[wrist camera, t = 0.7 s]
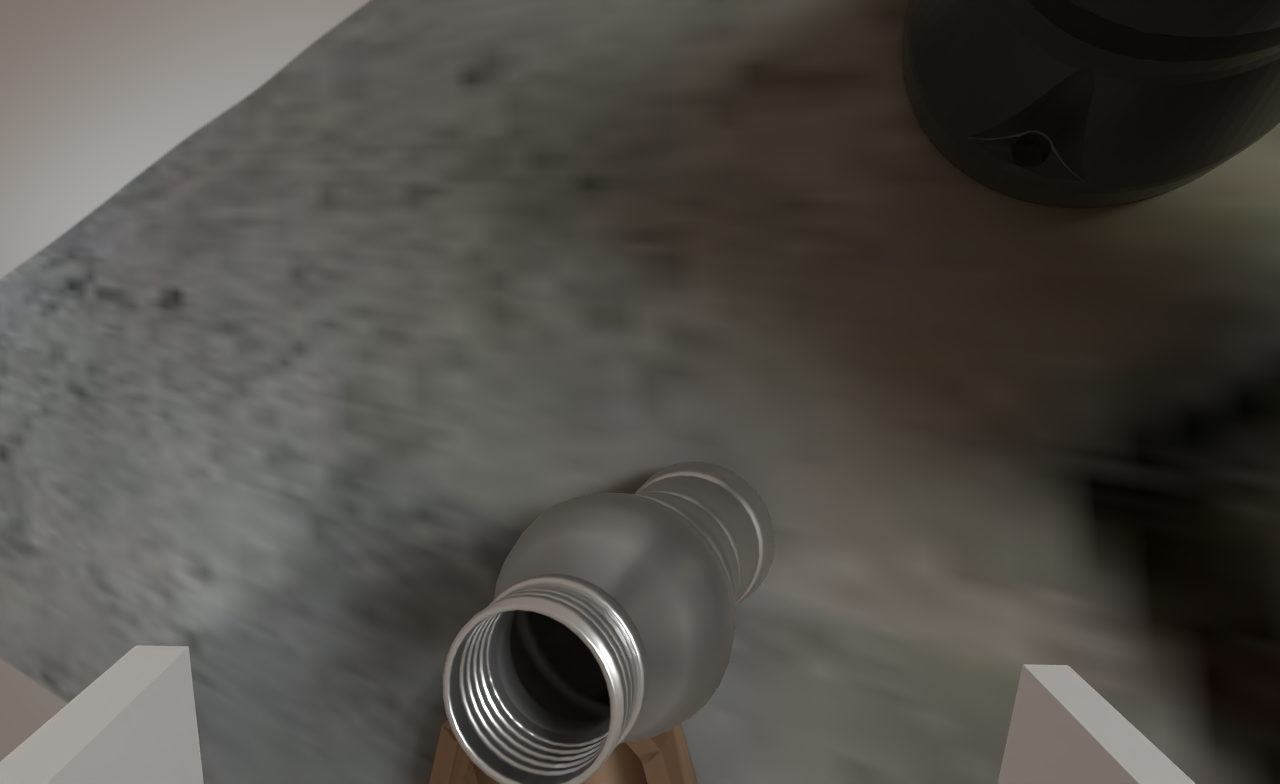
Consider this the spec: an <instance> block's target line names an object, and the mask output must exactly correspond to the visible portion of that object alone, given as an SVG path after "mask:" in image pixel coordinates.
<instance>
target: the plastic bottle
mask: <svg viewBox="0 0 1280 784" xmlns="http://www.w3.org/2000/svg"><path fill="white" fill-rule="evenodd" d="M773 553H774V530H773V526H772V522H771V518H770V515H769V513H768V511H767V509H766V506H765V504H764V503H763V501H762V500H761V498H760V497H759V495H758V494H757V493H756V491H755V490H754V489H753V488H752V487H751V486H750V485H749V484H748V483H747V482H746V481H745V480H743V479H742V478H740V477H739V476H738V475H736V474H735V473H733V472H732V471H729V470H727V469H725V468H722V467H720V466H718V465H713V464H709V463H704V462H685V463H679V464H674V465H672V466H669V467H667V468H664V469H662V470H660V471H659V472H657V473H656V474H654V475H653V476H651V477H650V478H649V479H648V480H647V481H646V482H645V483H644V484H643V485H642V486H641V487H640V488H639V489H638V490H637V491H636V492H635V494H629V493H601V494H594V495H588V496H581V497H575V498H573V499H570V500H568V501H565V502H563V503H560V504H557V505H555V506H554V507H552V508H551V509H549V510H548V511H546V512H545V513H543V514H542V515H540V516H539V517H537V518H536V519H535V521H534V522H533V523H532V524H531V525H530V526H529V527H528V528H527V529H526V530H525V531H524V532H523V533H522V535H521V536H520V538H519V539H518V541H517V542H516V544H515V545H514V547H513V548H512V550H511V551H510V553H509V555H508V556H507V558H506V559H505V561H504V563H503V566H502V569H501V571H500V574H499V577H498V579H497V583H496V589H495V594H494V600H493V601H492V602H491V603H490V604H489V605H488V607H486V608H485V609H483V610H481V611H480V612H478V613H477V614H475V615H474V616H473V617H472V618H471V619H470V620H469V621H468V622H467V623H466V624H465V625H464V627H463V628H462V629H461V630H460V632H459V633H458V635H457V636H456V638H455V639H454V641H453V643H452V644H451V647H450V649H449V652H448V655H447V657H446V660H445V666H444V672H443V700H444V705H445V711H446V715H447V718H448V720H449V723H450V726H451V729H452V731H453V733H454V735H455V737H456V739H457V740H458V742H459V744H460V746H461V748H462V749H463V750H464V751H465V753H466V754H467V755H468V757H469V758H470V759H471V760H472V762H473V763H474V764H475V765H476V766H478V767H479V768H480V769H481V770H482V771H483V772H484V773H485V774H486V775H488V776H489V777H491V778H492V779H494V780H495V781H497V782H499V783H500V784H582V783H584V782H586V781H587V780H588V779H589V778H590V777H591V776H592V775H593V774H595V773H596V772H597V771H598V770H599V769H600V768H601V767H602V766H603V765H604V764H605V762H606V761H607V759H608V758H609V756H610V755H611V753H612V752H613V750H614V748H615V747H617V746H618V745H619V744H620V743H627V742H637V741H641V740H644V739H648V738H652V737H655V736H658V735H660V734H662V733H664V732H666V731H667V730H669V729H671V728H673V727H675V726H677V725H679V724H680V723H682V722H684V721H686V720H688V719H690V718H691V717H692V716H693V715H694V714H695V713H696V712H697V711H698V710H700V709H701V708H702V707H703V706H704V705H705V704H706V703H707V702H708V700H709V699H710V698H711V696H712V695H713V693H714V692H715V690H716V689H717V688H718V686H719V685H720V683H721V680H722V678H723V675H724V673H725V670H726V668H727V665H728V663H729V658H730V654H731V650H732V644H733V639H734V633H735V605H737V604H738V603H740V602H742V601H743V600H744V599H746V598H747V597H748V596H749V595H750V594H751V593H752V592H753V591H755V590H756V589H757V588H758V587H759V585H760V584H761V582H762V581H763V580H764V578H765V577H766V575H767V573H768V570H769V568H770V565H771V563H772V559H773Z"/></svg>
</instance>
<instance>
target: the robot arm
mask: <svg viewBox="0 0 1280 784" xmlns="http://www.w3.org/2000/svg"><path fill="white" fill-rule="evenodd" d="M902 60H903V72H904V80H905V84H906V89H907V93H908V96H909V99H910V102H911V105H912V107H913V110H914V112H915V115H916V117H917V119H918V121H919V123H920V124H921V126H922V128H923V129H924V131H925V133H926V134H927V136H928V137H929V138H930V140H931V141H932V142H933V144H934V145H935V146H936V147H937V148H938V149H939V151H940V152H941V153H942V154H943V155H944V156H945V157H946V158H947V159H948V160H949V161H950V162H951V163H953V164H954V165H955V166H956V167H958V168H959V169H960V170H961V171H963V172H964V173H966V174H967V175H968V176H970V177H971V178H973V179H975V180H976V181H978V182H980V183H981V184H983V185H985V186H987V187H989V188H991V189H993V190H996V191H998V192H1001V193H1003V194H1006V195H1008V196H1011V197H1014V198H1017V199H1021V200H1024V201H1029V202H1033V203H1038V204H1043V205H1049V206H1059V207H1077V208H1084V207H1102V206H1112V205H1118V204H1124V203H1129V202H1134V201H1138V200H1143V199H1146V198H1149V197H1153V196H1156V195H1159V194H1162V193H1165V192H1168V191H1170V190H1173V189H1175V188H1178V187H1180V186H1182V185H1185V184H1187V183H1189V182H1191V181H1193V180H1195V179H1197V178H1199V177H1201V176H1203V175H1204V174H1206V173H1208V172H1209V171H1211V170H1213V169H1214V168H1216V167H1218V166H1219V165H1221V164H1222V163H1224V162H1226V161H1227V160H1229V159H1230V158H1232V157H1233V156H1235V155H1237V154H1238V153H1240V152H1241V151H1243V150H1245V149H1246V148H1247V147H1249V146H1250V145H1252V144H1253V143H1255V142H1256V141H1258V140H1259V139H1260V138H1262V137H1263V136H1264V135H1265V134H1267V133H1268V132H1269V131H1270V130H1272V129H1273V128H1274V127H1275V126H1276V125H1277V124H1278V123H1279V122H1280V0H910V4H909V9H908V13H907V18H906V23H905V28H904V36H903V48H902ZM0 784H204V783H203V773H202V764H201V755H200V746H199V737H198V728H197V719H196V710H195V701H194V692H193V683H192V674H191V665H190V656H189V647H185V646H139V645H136V646H135V647H133V648H132V649H131V650H130V651H129V652H128V653H126V654H125V655H124V656H123V657H122V658H121V659H119V660H118V661H117V662H116V663H115V664H114V665H112V666H111V667H110V668H109V669H108V670H107V671H105V672H104V673H103V674H102V675H101V676H100V677H98V678H97V679H96V680H95V681H94V682H93V683H91V684H90V685H89V686H88V687H87V688H86V689H84V690H83V691H82V692H81V693H80V694H79V695H77V696H76V697H75V698H74V699H73V700H72V701H70V702H69V703H68V704H67V705H66V706H65V707H63V708H62V709H61V710H60V711H59V712H58V713H56V714H55V715H54V716H53V717H52V718H51V719H50V720H48V721H47V722H46V723H45V724H44V725H43V726H41V727H40V728H39V729H38V730H37V731H36V732H34V734H32V735H31V736H30V737H28V738H27V739H26V740H25V741H24V742H23V743H22V744H20V745H19V746H18V747H17V748H16V749H15V750H13V751H12V752H11V753H10V754H9V755H8V756H6V757H5V758H4V759H3V760H2V761H1V762H0ZM998 784H1195V783H1194V782H1193V781H1192V780H1191V779H1190V778H1189V777H1188V776H1187V775H1186V774H1185V773H1183V772H1182V771H1181V770H1180V769H1179V768H1178V767H1177V766H1176V765H1175V764H1174V763H1173V762H1172V761H1171V760H1169V759H1168V758H1167V757H1166V756H1165V755H1164V754H1163V753H1162V752H1161V751H1160V750H1159V749H1158V748H1157V747H1155V746H1154V745H1153V744H1152V743H1151V742H1150V741H1149V740H1148V739H1147V738H1146V737H1145V736H1144V735H1143V734H1141V733H1140V732H1139V731H1138V730H1137V729H1136V728H1135V727H1134V726H1133V725H1132V724H1131V723H1130V722H1129V721H1127V720H1126V719H1125V718H1124V717H1123V716H1122V715H1121V714H1120V713H1119V712H1118V711H1117V710H1116V709H1115V708H1113V707H1112V706H1111V705H1110V704H1109V703H1108V702H1107V701H1106V700H1105V699H1104V698H1103V697H1102V696H1101V695H1099V694H1098V693H1097V692H1096V691H1095V690H1094V689H1093V688H1092V687H1091V686H1090V685H1089V684H1088V683H1087V682H1085V681H1084V680H1083V679H1082V678H1081V677H1080V676H1079V675H1078V674H1077V673H1076V672H1075V671H1074V670H1072V669H1071V668H1070V667H1069V666H1068V665H1026V664H1023V667H1022V671H1021V676H1020V681H1019V685H1018V690H1017V695H1016V700H1015V704H1014V709H1013V714H1012V719H1011V723H1010V728H1009V733H1008V737H1007V742H1006V747H1005V752H1004V756H1003V761H1002V766H1001V770H1000V775H999V780H998Z"/></svg>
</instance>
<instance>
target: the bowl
mask: <svg viewBox="0 0 1280 784" xmlns="http://www.w3.org/2000/svg"><path fill="white" fill-rule="evenodd" d="M429 784H500V783H499V782H497V781H495V780H494V779H492V778H491V777H489V776H488V775H486V774H485V773H484V772H483V771H482V770H481V769H480V768H479V767H478V766H476V765H475V764H474V763H473V762H472V760H471V759H470V758H469V757H468V755H467V754H466V753H465V751H464V750H463V749H462V748H461V746H460V744H459V742H458V740H457V739H456V737H455V735H454V733H453V731H452V729H451V726H450V723H449V720H447V721H446V722H445V723H444V724H443V725H442V727H441V731H440V736H439V740H438V745H437V749H436V754H435V758H434V762H433V767H432V771H431V776H430V780H429ZM582 784H697V780H696V776H695V773H694V769H693V766H692V762H691V758H690V755H689V751H688V748H687V744H686V740H685V737H684V733H683V730H682V726H681V723H680V724H679V725H677V726H675V727H673V728H671V729H669V730H667V731H666V732H664V733H662V734H660V735H658V736H655V737H652V738H648V739H644V740H641V741H637V742H627V743H620V744H619V745H618V746H617V747H615V748H614V750H613V752H612V753H611V755H610V756H609V758H608V759H607V761H606V762H605V764H604V765H603V766H602V767H601V768H600V769H599V770H598V771H597V772H596V773H595V774H593V775H592V776H591V777H590V778H589V779H588V780H587V781H586V782H584V783H582Z"/></svg>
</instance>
